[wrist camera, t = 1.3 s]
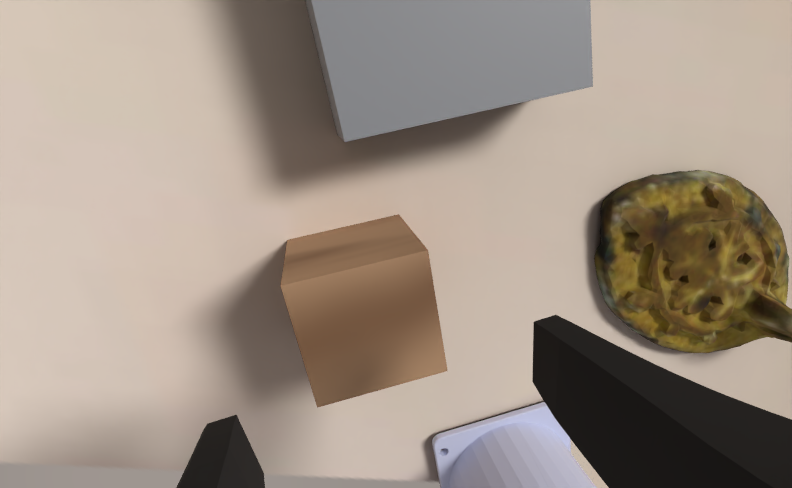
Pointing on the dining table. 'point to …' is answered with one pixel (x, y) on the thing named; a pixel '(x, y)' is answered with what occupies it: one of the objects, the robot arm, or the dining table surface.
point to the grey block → (445, 57)
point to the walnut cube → (362, 308)
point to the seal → (694, 262)
